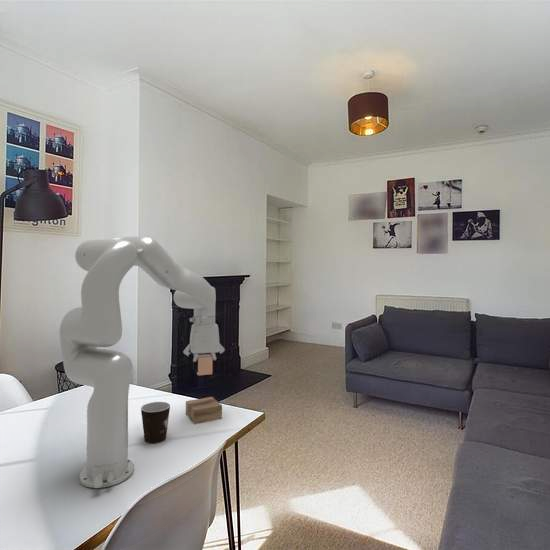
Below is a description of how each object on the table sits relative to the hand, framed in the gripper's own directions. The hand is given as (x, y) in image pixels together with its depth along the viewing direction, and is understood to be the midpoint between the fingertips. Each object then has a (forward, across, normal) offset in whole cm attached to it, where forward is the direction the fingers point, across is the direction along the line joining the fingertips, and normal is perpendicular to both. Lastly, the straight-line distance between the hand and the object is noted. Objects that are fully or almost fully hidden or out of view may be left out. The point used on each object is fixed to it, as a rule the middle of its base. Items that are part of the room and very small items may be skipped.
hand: (204, 370), depth 132 cm
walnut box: (+17, 0, 0) cm, 17 cm away
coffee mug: (+17, -18, -14) cm, 28 cm away
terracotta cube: (+1, 0, 0) cm, 1 cm away
